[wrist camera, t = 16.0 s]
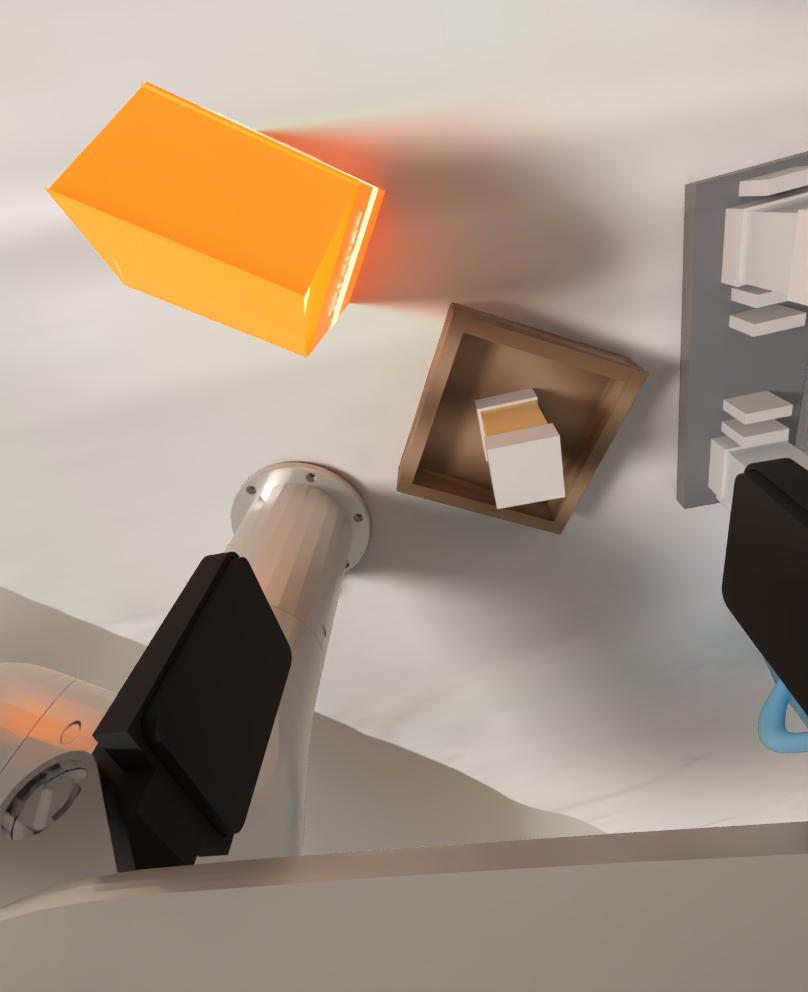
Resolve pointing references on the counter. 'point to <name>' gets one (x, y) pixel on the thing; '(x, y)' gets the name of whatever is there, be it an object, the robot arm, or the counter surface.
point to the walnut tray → (504, 369)
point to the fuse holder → (734, 334)
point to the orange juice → (221, 219)
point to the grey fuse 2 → (744, 461)
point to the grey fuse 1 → (769, 245)
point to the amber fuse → (520, 449)
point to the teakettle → (781, 720)
